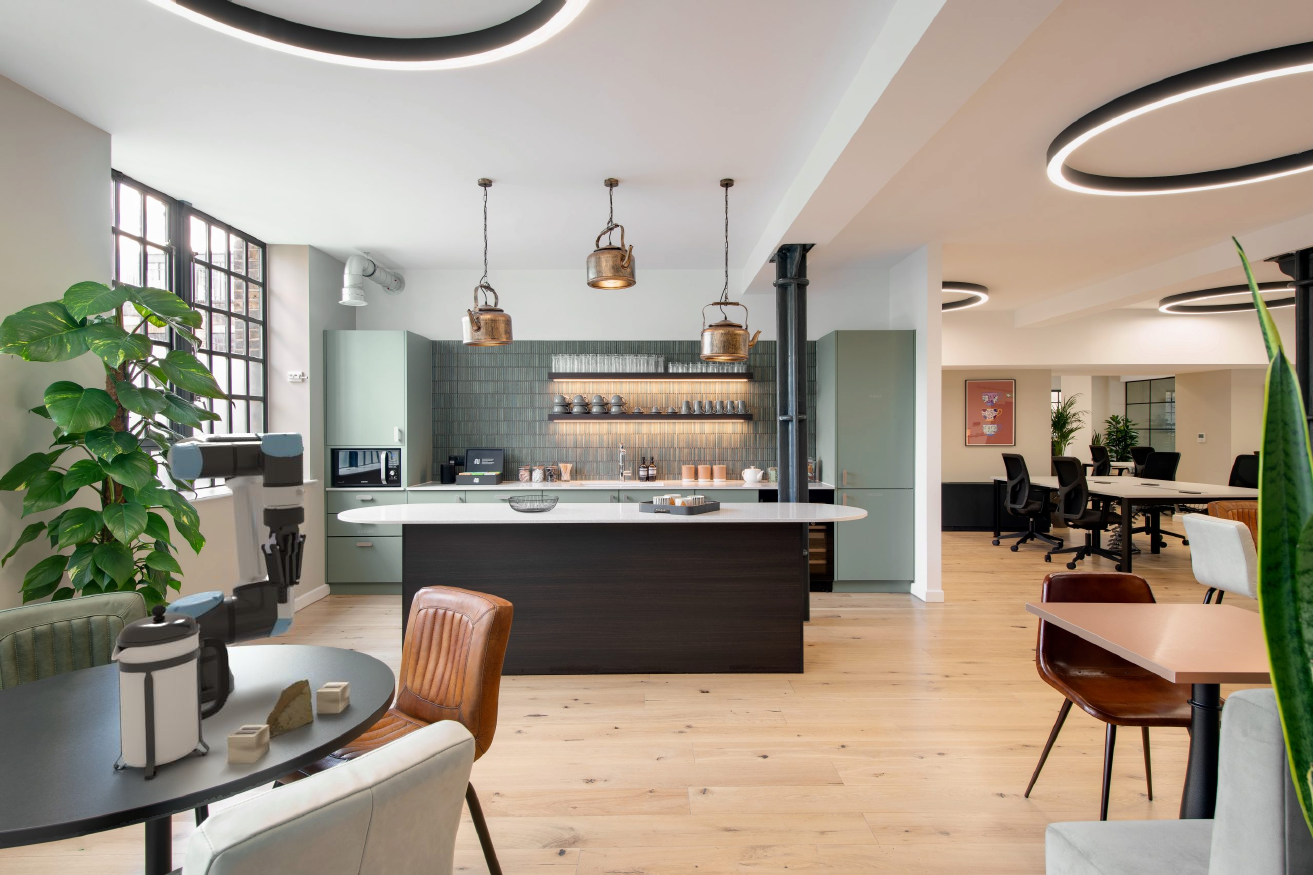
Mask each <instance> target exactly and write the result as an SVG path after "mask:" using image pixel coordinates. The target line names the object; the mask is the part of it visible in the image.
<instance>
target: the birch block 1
mask: <svg viewBox="0 0 1313 875" xmlns="http://www.w3.org/2000/svg"><path fill="white" fill-rule="evenodd" d="M226 739H227V740H226V741H227V745H226V746H227V764H244V763H246V764H247V763H248V764H249V763H250V764H251V763H256V762H257V761H258V760H259V759H260V758H262V757H263V756H264V755H265V754H266V753H268V752H269V751H270V748H271V747H270V745H271V744H270V738H269V725H266V724H244V725H242V726H240V727H238V729H237V730H234V732H232V733H231V734H229V735H228V736H227V737H226Z"/></svg>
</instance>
